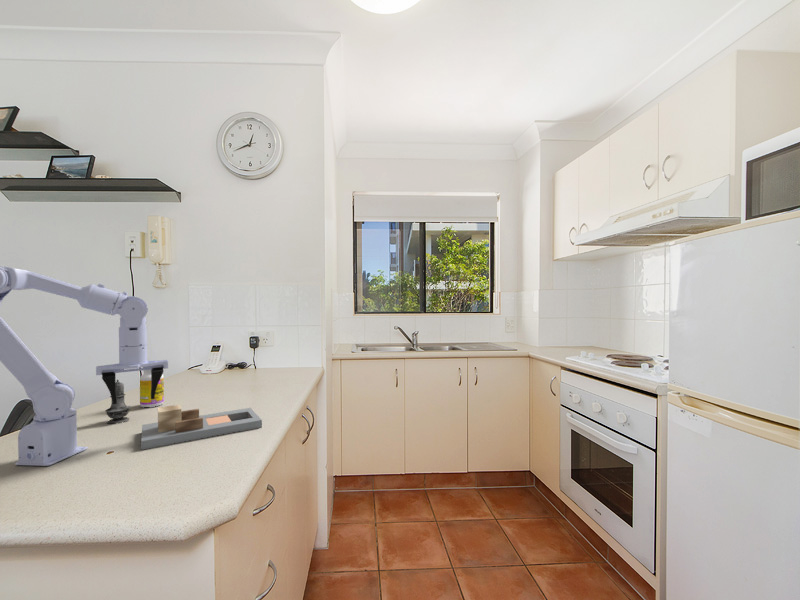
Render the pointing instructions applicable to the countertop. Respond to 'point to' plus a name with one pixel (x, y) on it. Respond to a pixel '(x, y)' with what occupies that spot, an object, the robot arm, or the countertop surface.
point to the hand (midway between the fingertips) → (134, 400)
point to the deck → (239, 422)
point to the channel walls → (189, 421)
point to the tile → (218, 420)
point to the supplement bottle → (146, 391)
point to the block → (168, 417)
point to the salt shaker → (118, 406)
